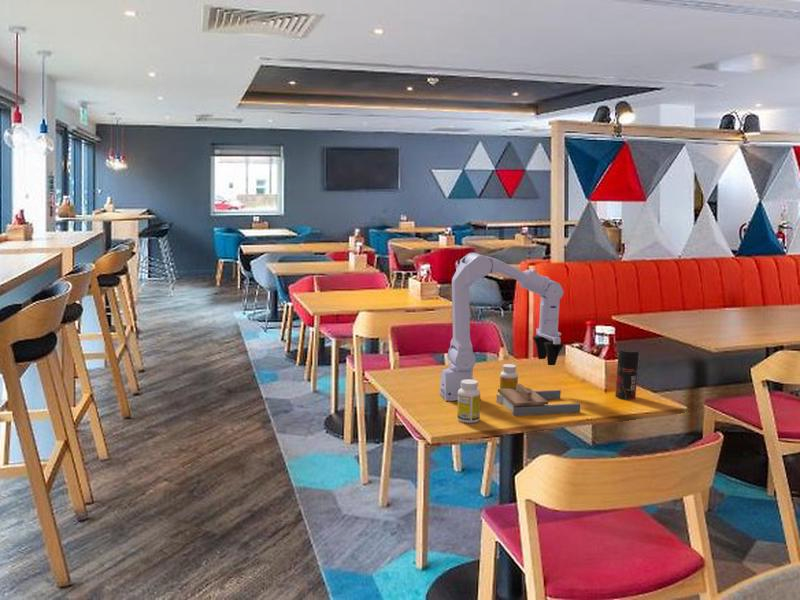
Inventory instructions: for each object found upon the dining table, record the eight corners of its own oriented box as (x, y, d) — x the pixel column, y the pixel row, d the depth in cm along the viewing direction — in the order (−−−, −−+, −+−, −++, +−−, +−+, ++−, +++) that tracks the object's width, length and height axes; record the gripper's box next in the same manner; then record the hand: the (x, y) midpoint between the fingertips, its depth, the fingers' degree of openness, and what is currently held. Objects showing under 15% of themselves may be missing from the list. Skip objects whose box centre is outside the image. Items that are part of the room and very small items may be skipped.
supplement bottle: (516, 399, 218) (518, 368, 217) (498, 398, 219) (500, 367, 218) (517, 394, 224) (518, 364, 222) (500, 393, 225) (501, 362, 223)
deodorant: (621, 393, 227) (624, 346, 225) (638, 397, 223) (642, 350, 220) (611, 396, 223) (615, 349, 220) (629, 401, 219) (633, 353, 216)
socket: (511, 416, 203) (512, 407, 202) (494, 400, 216) (495, 392, 216) (579, 412, 207) (580, 404, 207) (559, 397, 221) (559, 389, 220)
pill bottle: (476, 416, 202) (478, 378, 200) (481, 423, 196) (483, 384, 194) (455, 416, 201) (456, 378, 200) (459, 423, 195) (460, 384, 194)
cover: (514, 406, 202) (515, 395, 202) (497, 391, 216) (498, 381, 216) (548, 404, 204) (548, 393, 204) (528, 390, 218) (529, 379, 218)
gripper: (571, 323, 215) (568, 367, 218) (551, 314, 229) (549, 355, 232) (548, 323, 214) (546, 368, 216) (530, 314, 228) (528, 356, 230)
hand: (546, 361), depth 224 cm, fingers open, 7 cm apart
